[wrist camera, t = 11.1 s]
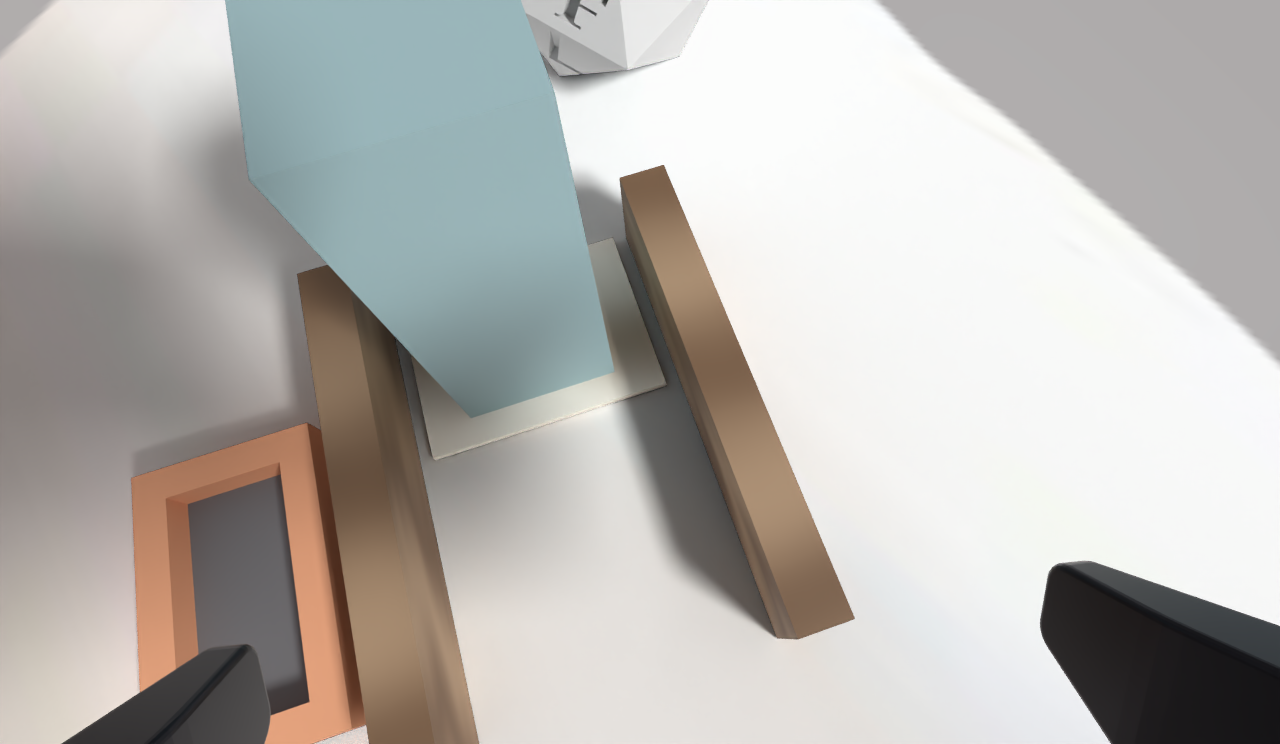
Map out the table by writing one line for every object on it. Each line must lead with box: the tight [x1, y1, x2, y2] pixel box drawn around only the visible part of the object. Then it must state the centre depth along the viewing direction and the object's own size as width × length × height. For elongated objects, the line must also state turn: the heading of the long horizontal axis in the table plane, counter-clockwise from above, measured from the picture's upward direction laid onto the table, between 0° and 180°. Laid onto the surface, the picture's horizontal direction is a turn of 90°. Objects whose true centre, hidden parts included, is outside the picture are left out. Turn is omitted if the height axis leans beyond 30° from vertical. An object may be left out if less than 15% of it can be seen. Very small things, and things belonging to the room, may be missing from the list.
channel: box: [297, 165, 855, 744], centre depth 20 cm, size 14×12×4 cm
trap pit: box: [131, 423, 366, 744], centre depth 20 cm, size 9×6×2 cm, turn 18°
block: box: [225, 0, 615, 418], centre depth 17 cm, size 5×5×12 cm
